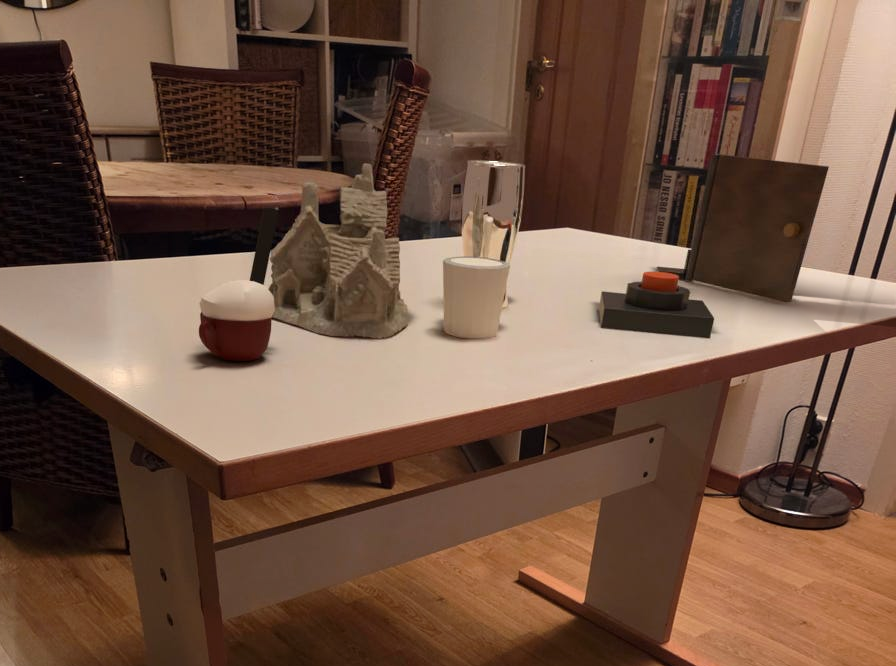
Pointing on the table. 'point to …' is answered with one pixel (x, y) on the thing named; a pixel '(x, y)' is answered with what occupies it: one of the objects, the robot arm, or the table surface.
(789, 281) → the door
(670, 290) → the button
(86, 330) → the table surface
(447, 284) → the white cup
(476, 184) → the beer glass
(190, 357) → the table surface
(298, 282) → the ceramic cottage
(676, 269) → the gray angle bracket
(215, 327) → the cocoa
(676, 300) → the buzzer
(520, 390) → the table surface
